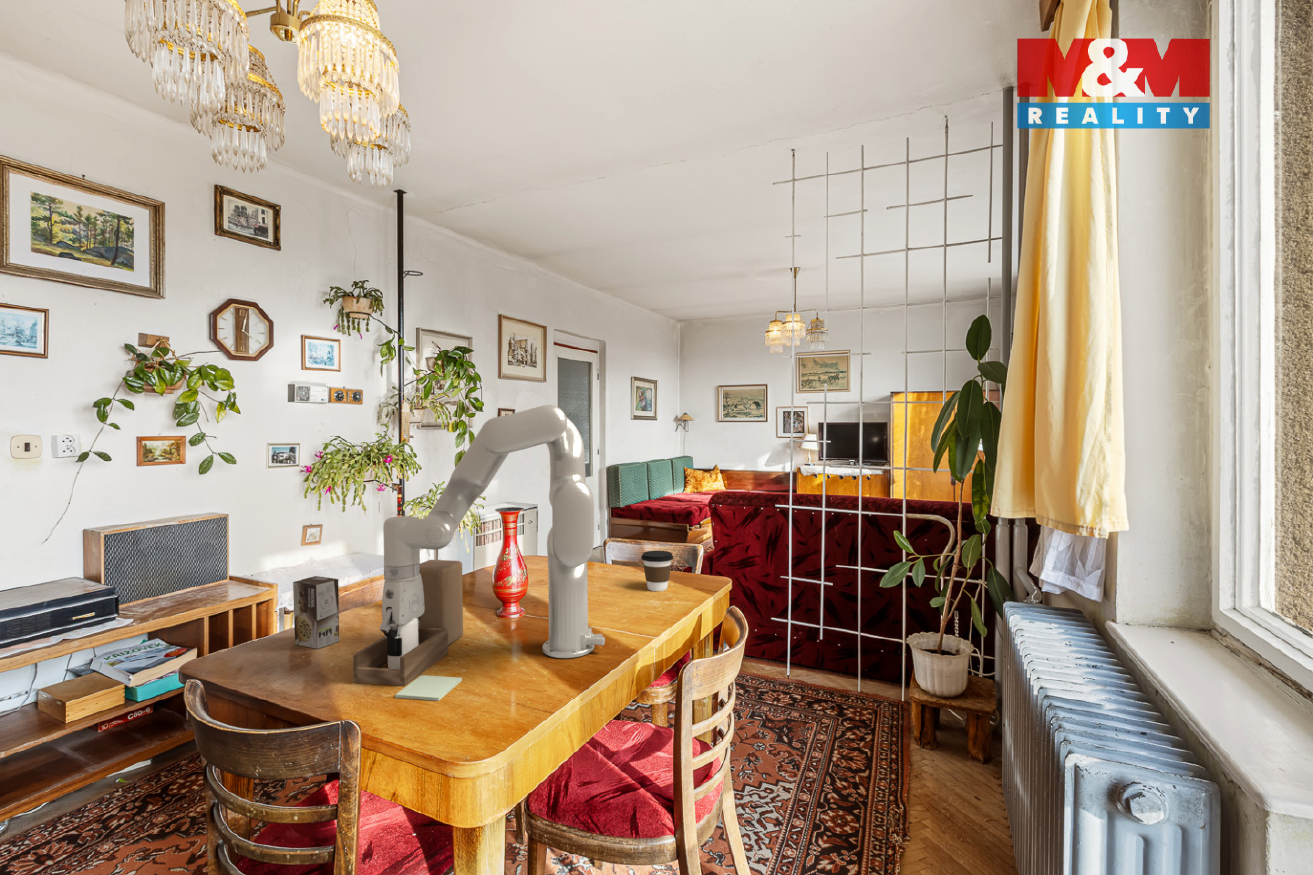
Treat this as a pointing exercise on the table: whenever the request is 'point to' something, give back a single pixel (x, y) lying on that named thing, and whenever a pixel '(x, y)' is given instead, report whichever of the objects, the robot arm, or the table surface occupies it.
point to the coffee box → (316, 611)
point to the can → (405, 642)
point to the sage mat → (428, 688)
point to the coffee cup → (657, 569)
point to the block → (443, 597)
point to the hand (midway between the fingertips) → (403, 649)
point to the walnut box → (411, 663)
